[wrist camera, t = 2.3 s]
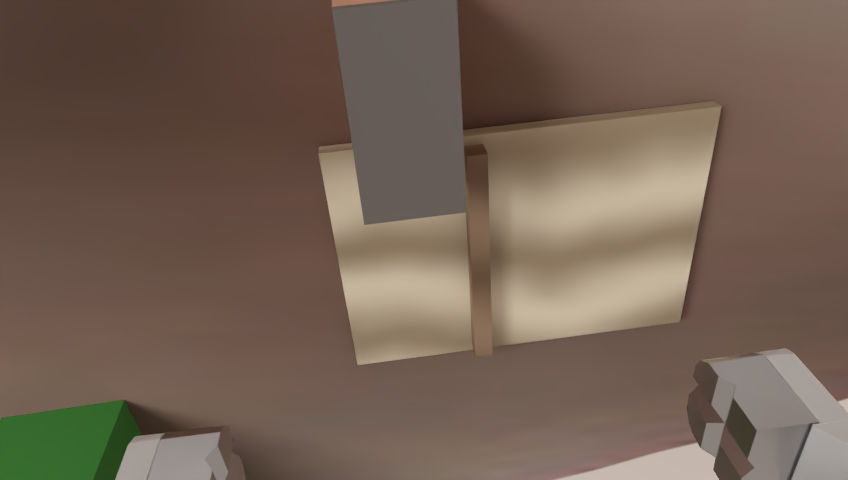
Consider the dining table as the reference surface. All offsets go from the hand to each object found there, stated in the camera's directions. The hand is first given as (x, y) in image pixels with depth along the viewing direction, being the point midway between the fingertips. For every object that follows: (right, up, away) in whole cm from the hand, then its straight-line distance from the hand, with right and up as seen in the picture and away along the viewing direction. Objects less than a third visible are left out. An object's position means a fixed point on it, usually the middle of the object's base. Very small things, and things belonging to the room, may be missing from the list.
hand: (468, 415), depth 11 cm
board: (+4, +3, +24) cm, 25 cm away
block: (-2, +12, +18) cm, 21 cm away
